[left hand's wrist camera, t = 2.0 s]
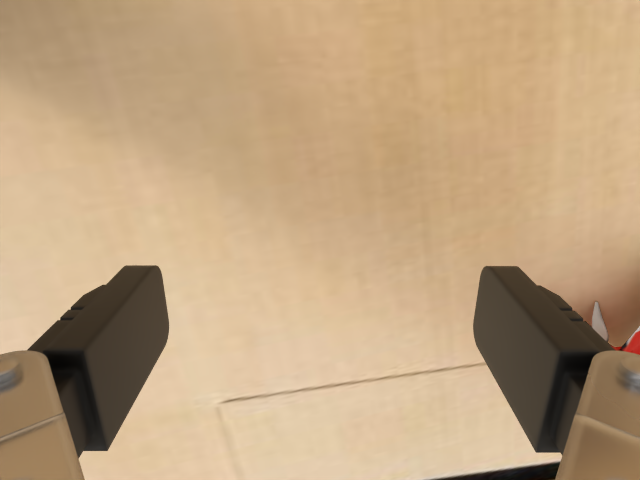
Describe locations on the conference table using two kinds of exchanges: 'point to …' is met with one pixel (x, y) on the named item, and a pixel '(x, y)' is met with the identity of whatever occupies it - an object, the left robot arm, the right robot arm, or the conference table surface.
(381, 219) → the conference table surface
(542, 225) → the conference table surface
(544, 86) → the conference table surface
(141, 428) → the conference table surface
